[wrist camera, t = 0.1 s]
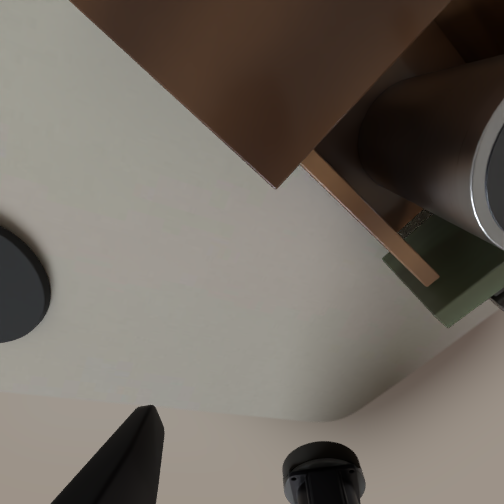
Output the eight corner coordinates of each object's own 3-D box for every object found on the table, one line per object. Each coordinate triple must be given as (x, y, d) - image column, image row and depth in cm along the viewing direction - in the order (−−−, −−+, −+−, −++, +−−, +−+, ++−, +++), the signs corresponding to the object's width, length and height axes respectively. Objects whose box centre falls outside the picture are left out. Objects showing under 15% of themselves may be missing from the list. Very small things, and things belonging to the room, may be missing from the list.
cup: (481, 156, 18) (745, 200, 9) (382, 210, 19) (514, 302, 10) (429, -11, 15) (740, -234, 6) (315, 64, 16) (409, -13, 7)
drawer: (578, 183, 20) (729, 213, 14) (426, 302, 23) (492, 370, 17) (415, -44, 16) (525, -153, 9) (257, 140, 19) (260, 152, 13)
